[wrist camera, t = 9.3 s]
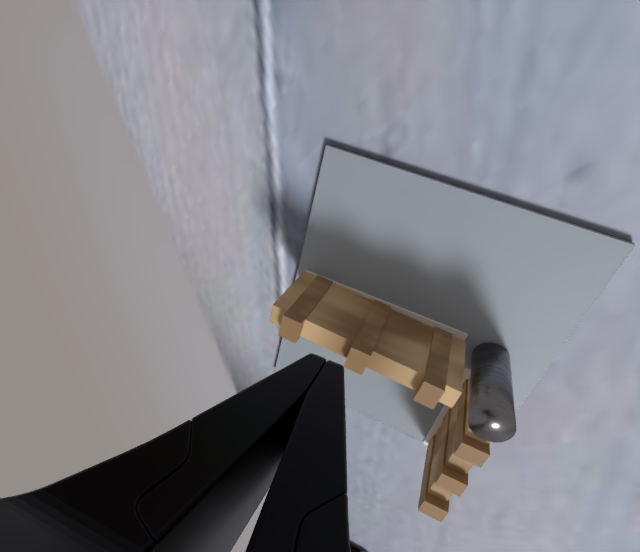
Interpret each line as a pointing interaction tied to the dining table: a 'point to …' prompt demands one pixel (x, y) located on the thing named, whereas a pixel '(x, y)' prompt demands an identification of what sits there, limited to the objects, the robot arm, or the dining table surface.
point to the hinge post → (491, 394)
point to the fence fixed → (450, 458)
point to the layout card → (448, 274)
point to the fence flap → (373, 338)
